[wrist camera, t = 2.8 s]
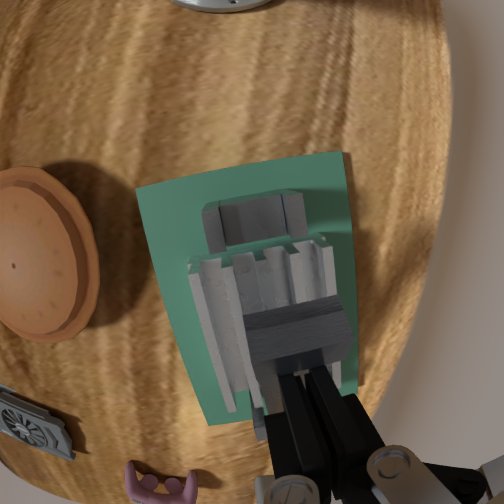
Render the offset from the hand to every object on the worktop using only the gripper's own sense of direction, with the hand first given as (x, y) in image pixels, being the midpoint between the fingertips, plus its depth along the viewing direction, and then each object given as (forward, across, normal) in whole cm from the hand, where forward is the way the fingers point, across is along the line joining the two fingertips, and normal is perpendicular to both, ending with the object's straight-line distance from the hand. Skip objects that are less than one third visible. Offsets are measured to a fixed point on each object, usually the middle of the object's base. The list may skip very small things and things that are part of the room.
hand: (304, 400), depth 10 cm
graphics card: (+17, +36, +16) cm, 43 cm away
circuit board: (+16, 0, +3) cm, 16 cm away
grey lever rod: (+6, 0, +4) cm, 7 cm away
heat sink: (+15, 0, +3) cm, 15 cm away
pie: (+16, +19, -6) cm, 25 cm away
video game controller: (+16, +18, +27) cm, 36 cm away
